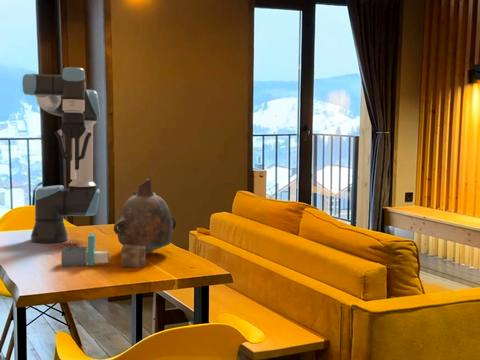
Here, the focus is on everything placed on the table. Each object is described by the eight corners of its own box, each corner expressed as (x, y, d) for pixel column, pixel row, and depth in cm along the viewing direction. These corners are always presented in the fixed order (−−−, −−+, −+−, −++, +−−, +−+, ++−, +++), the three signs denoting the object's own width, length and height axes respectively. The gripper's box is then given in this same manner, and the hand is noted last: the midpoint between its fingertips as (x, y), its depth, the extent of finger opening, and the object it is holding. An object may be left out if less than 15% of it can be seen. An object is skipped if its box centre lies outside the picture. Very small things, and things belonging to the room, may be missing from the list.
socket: (121, 267, 227) (121, 248, 226) (123, 262, 235) (123, 244, 234) (144, 267, 228) (144, 248, 227) (145, 262, 236) (145, 244, 235)
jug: (140, 246, 266) (141, 174, 263) (184, 252, 257) (185, 177, 254) (103, 256, 244) (103, 178, 241) (149, 263, 235) (151, 182, 232)
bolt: (61, 265, 226) (61, 236, 225) (64, 261, 231) (64, 233, 230) (107, 265, 228) (107, 236, 227) (109, 262, 233) (109, 233, 232)
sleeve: (61, 267, 225) (61, 250, 225) (64, 262, 232) (64, 246, 232) (84, 267, 226) (84, 250, 226) (87, 262, 233) (87, 246, 233)
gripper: (52, 111, 220) (52, 179, 222) (91, 112, 221) (90, 180, 223) (56, 111, 227) (56, 177, 229) (93, 112, 228) (93, 178, 230)
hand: (73, 178), depth 226 cm, fingers closed
